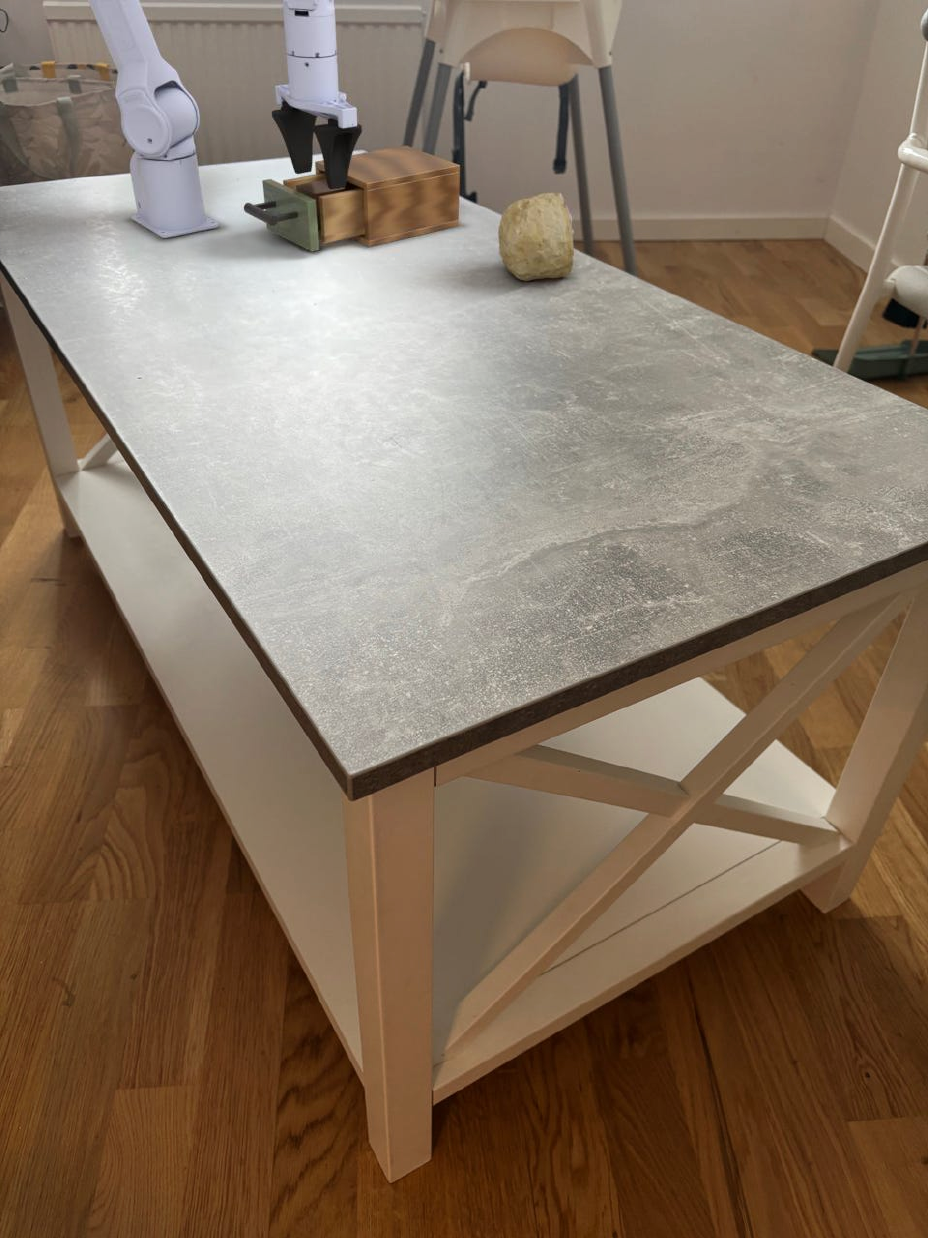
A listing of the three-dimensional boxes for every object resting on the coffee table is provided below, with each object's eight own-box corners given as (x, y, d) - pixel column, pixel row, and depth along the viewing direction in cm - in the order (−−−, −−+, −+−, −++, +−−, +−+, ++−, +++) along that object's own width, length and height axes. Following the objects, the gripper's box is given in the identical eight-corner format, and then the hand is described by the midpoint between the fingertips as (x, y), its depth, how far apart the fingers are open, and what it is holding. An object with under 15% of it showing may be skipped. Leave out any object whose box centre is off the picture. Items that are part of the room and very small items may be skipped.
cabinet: (369, 247, 121) (366, 183, 116) (318, 222, 127) (314, 161, 123) (458, 225, 128) (460, 164, 123) (406, 203, 135) (406, 145, 130)
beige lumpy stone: (609, 228, 107) (533, 193, 103) (564, 308, 113) (490, 277, 109) (587, 195, 114) (515, 161, 110) (546, 272, 120) (476, 242, 116)
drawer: (281, 258, 114) (276, 207, 111) (238, 234, 120) (232, 185, 117) (400, 230, 123) (399, 182, 119) (354, 209, 129) (352, 163, 125)
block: (298, 221, 121) (295, 184, 119) (327, 215, 124) (325, 178, 121) (317, 230, 119) (315, 193, 116) (347, 224, 121) (345, 187, 118)
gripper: (377, 60, 107) (380, 188, 116) (307, 40, 115) (315, 161, 124) (324, 66, 104) (331, 198, 112) (255, 45, 112) (267, 169, 121)
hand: (319, 179), depth 118 cm, fingers open, 7 cm apart
